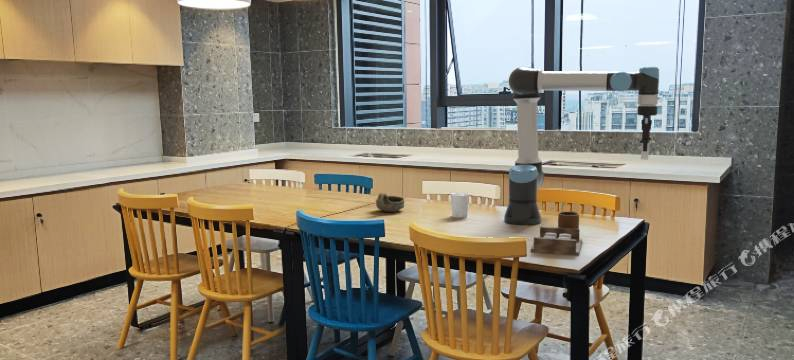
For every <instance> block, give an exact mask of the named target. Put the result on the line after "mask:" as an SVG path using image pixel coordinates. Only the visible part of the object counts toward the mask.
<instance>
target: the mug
mask: <svg viewBox="0 0 794 360" xmlns="http://www.w3.org/2000/svg"><path fill="white" fill-rule="evenodd" d="M557 227H559V228H576V229H580V214H579V213H578V212H576V211H573V210H572V211H561V212H559V213H558V216H557Z"/></svg>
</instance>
